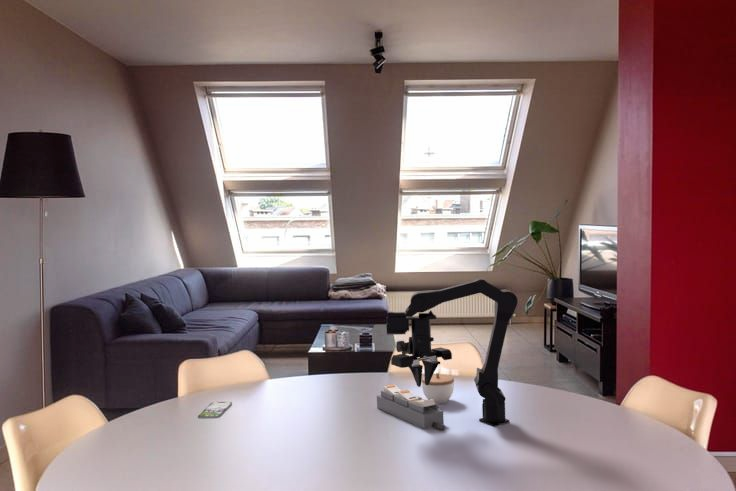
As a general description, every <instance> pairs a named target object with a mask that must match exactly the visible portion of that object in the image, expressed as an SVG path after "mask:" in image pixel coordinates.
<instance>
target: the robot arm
mask: <svg viewBox="0 0 736 491" xmlns="http://www.w3.org/2000/svg"><path fill="white" fill-rule="evenodd" d="M478 294H482V295H483V296H485V297H487V298H489V299H490V300H493V302H494V304H493V306H494V307H493V308H494V312H493V313H494V314H493V315H494V319H493V324H492V329H491V334H490V337H489V342H488V347H487V349H486V350H487V351H486V355H485V360H484V363H483V365H482V367H481V368H479V367H477V368H476V373H475V374H476V375H475V377H474V379H473V381H474V383H475V387H476V390H477V392H478V394H479V396H480V397H481V398H482V405H481V406H482V407H481V410H482V411H481V412H482V417H481V418H479V419H478V421H479V422H482V423H486V424H487V425H490V426H492V427H495V426H499V425H503V424H507V423H509V422H510V419H507V418H506V397H505V394H504V393H503V391H502V389H500V387H499V365H500V361H501V360H500V359H501V355H502V351H503V346H504V342H505V338H506V334H507V330H508V326H509V322H510V320H511V319H512V317H513V316H514V313H515V311H516V308H517V305H518V297H517V296H516V294H514V292H512V291H511V290H509V289H504V288H503V289H500V288H498V287H497V286H495V285H494V284H491V283H489V282H488V281H487V280H486V279H484V278H476V279H475V280H471V281H467V282H463V283H460V284H457V285H456V284H455V285H452V286H449V287H446V288H442V289H429V290H427V289H426V290H419V291H416V292H415V291H414V292H413V294H412V295H411V297H410V303H409V305H408V306H407V307H406V309H405V311H398V312H397V311H387V313H386V324H385V326H386V328H385V329H386V335H390V336H391V335H395V336H396V335H407V334H406V333H408V332H409V331H410V328H411V336H409V337H408V342H406V341H404V340H398V341H396V345H395V348H396V352H398V353H399V354H394V355H392V356H391V360H390V364H391V365H392V366H395V367H398V368H401V369H402V368H409V370H410V371H411V374H412V376H413V378H414V381H415V383H416V386H417V387H419V388H420V387H422V386H421V385H422V377H423V374H424V376H425V385H429V383H430V380H431V378H432V376H433V374H435V371H436V370H437V368H438V366H439V365H440V364H441V361H440V360H439V361H438V358H442V360H443V361H448V360H452V359H453V353H452V350H450V349H448V348H445V347H441V346H440V347H436V348H432V342H434V337H433V336H432V331H431V329H432V328H431V320H437V315H436V314H435V313H434V312H433V310H432V309H434V308H436V307H437V306H439V305H441V304H443V303H446V302H451V301H454V300H459V299H461V298H465V297H470V296H473V295H478ZM426 311H428V312H426ZM417 313H418V315H416V314H417ZM415 315H416V316H415ZM410 322H411V323H410ZM410 324H411V325H410ZM420 361H421V362H422V364H420V363H421V362H420ZM423 367H424V368H423ZM423 370H424V373H423Z"/></svg>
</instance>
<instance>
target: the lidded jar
mask: <svg viewBox="0 0 736 491" xmlns="http://www.w3.org/2000/svg"><path fill="white" fill-rule="evenodd" d="M454 382H455V379H454V377H453V376H452V375H449V374H443V373H441V374H440V373H439V372H436V373H433V376H432V378H431V380H430V383H429V385H425V375H424V376H422V380H421V385H422V386H421V387H422V392H423V394H424V396H425V399H434V403H436V404H438V405H439V404H446V403H447V402H448V401H449V399H450V398H452V396H453V394H454V385H455V383H454Z"/></svg>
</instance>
